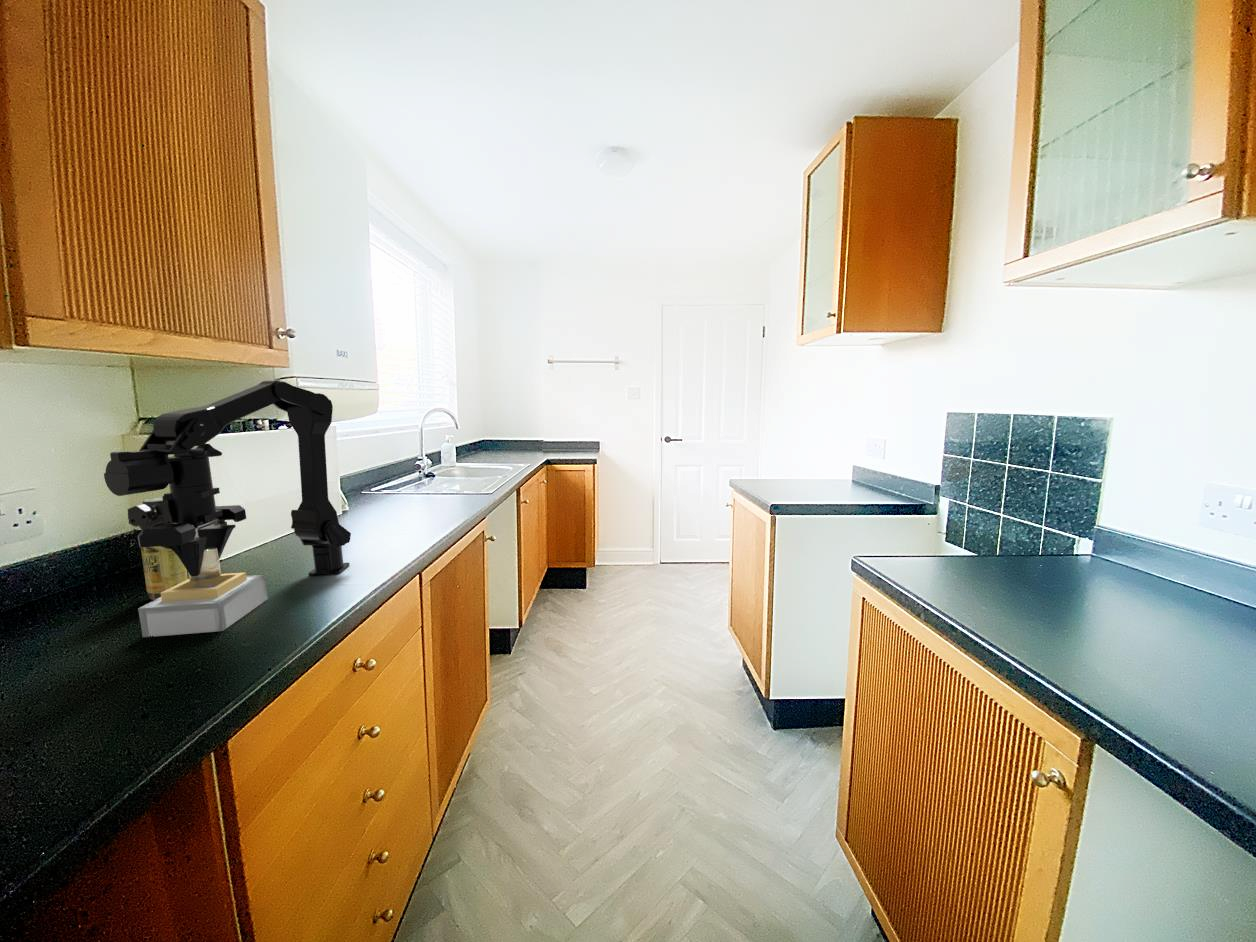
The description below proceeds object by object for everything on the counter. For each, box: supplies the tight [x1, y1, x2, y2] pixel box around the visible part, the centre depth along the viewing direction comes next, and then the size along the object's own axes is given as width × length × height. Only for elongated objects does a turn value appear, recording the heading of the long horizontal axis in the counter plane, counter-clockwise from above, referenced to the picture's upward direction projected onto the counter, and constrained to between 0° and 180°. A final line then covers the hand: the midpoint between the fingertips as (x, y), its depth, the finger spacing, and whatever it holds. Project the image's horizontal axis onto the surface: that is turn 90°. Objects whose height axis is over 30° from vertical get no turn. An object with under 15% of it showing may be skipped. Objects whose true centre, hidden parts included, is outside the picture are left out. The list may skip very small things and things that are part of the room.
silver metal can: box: [187, 546, 222, 581], centre depth 91 cm, size 4×4×5 cm
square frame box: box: [137, 571, 269, 638], centre depth 92 cm, size 14×12×6 cm
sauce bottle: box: [140, 497, 189, 601], centre depth 102 cm, size 6×6×20 cm
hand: (204, 571), depth 91 cm, fingers closed on silver metal can, 4 cm apart
